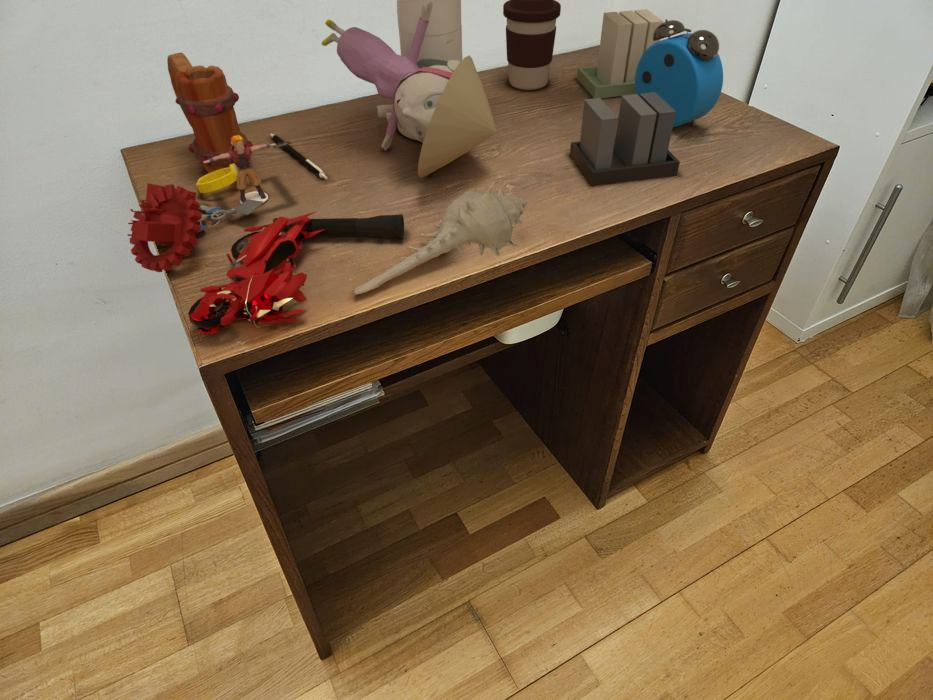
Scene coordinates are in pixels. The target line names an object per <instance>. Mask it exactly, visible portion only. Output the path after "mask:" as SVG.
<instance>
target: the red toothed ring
mask: <svg viewBox="0 0 933 700" xmlns="http://www.w3.org/2000/svg"><path fill="white" fill-rule="evenodd" d="M145 195H146V197H145V199H141V200H138V203H141V204H138V207H140V208H141V209H139V210H134V209H133V208H130V209H129V210H130V212H131V213H133V218H134V219H136V220H133V219H131V220H130V222H127V225H131V227H130V232H131V233H128V234H127V237H129V244H131V245H133V246H132V248H131V249H130V253H131V254H132V255H133V256H136V257H135V258H134V261H135V263H137V264H139V265H141V267H142V268H144V269H146V270H149V271H151V272H157V273H163V270H164V271H167V272H169V271H172V270H173V266H174V265H175V266H180V265H181V264H182V263H183V259H182V257H183V256H185V257H189V256H190V255H191V253H192V250H195V246H196V244H197V242H198V239H197V238H196V234H197V233H200V232H201V231H200V230H201V226H199V225H200V224H198V223H199V222H200V221H199V220H201V219H202V214H203V213H202V212H200V211H198V210H200V209H199V208H200V206H201V205H200V202H199V201H197V200H196V198H197V192H195V191H190V190H187V189H186V188H184V187H182V186H180V185H177V186H176V188H175V184H165V185H159V184H154V183H149V182H147V183H146V194H145ZM198 221H199V222H198ZM149 242H150V243H151V242H156V243H157V244H158V245H161V246H162V245H164V246H167V247H169V248H168V249H167V250H166V251H164V252H163V253H160V254H156V255H155V254H154V253H152V251H151V249H150V245H149Z"/></svg>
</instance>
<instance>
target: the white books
mask: <svg viewBox="0 0 933 700" xmlns="http://www.w3.org/2000/svg"><path fill="white" fill-rule="evenodd" d="M618 13H619V14H620V15H621V16H623V17H624V18H625V19H626V20H628V21H629V22H630V23H631V24H632V26H631V33H630V40H629V46H628V53H627V60H626V67H625V74H624V80H623V83H629V82H635V75H636V69H637V66H638V63H639V61H640V58H641V57H642V55H643V53H644V52H645V51H646V50H647V49H648V48H649V47H650V46H651V45H652V44H654V43H656V42H658V41H661V39H660V40H656V41H653V37H652V36H653V33H654V31H655V29H656V28H657V27H658V26H659V25H660V24H662V23H664V20H663V19H661V18H660V17H658V16H657V15H656V14H654V13H653V12H652V11H650V10H648V9H647V8H645V9H635V10H623V11H622V10H621V11H618Z"/></svg>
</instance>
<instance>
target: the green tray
mask: <svg viewBox="0 0 933 700" xmlns="http://www.w3.org/2000/svg"><path fill="white" fill-rule="evenodd" d="M597 66H598V65H591V66H579V67H577V72H576V80H577V81H578V83H580V85H581V86H582V87H583V88H584V89H585V90H586V91H587V92H588V94H589V95H590V96H591V97H592V99H594V98H601V99H606V98H608V99H609V98H615V97H616V98H617V97H621V96H623V95H633V94H636V90H635V82H629V83H619V84H609V85H604V84H603V83H602V82H601V81H600V80H599V79H598V78H597V77H596V74H597Z"/></svg>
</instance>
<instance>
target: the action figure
mask: <svg viewBox="0 0 933 700" xmlns="http://www.w3.org/2000/svg"><path fill="white" fill-rule="evenodd" d="M243 142H244V140H243V138H242V137H241V136H239V135H236V136H233V137H232V138H231V144H232V146H231V147H230V148H231V151H229V152H228V153H224V154H221V155H219V156H215V157H213V158H211V159H209V160H207V161H204V162H203V163H209V162H210V163H211V162H214V161H217V160H219V159H227V158H228V159H230V158H231V159H233V162H234V163H237V169H238V175H237V182H236V189H237V190H239V193H240V196H239V203H240V204H242V203H243V202H244V201H246V200H248V199H249V200H256V201H262V202H264V203H265V202H266V201H267V200H268V199H269V195H268V194H267V192H264V189H262V187H261V185H260V184H261V183H262V180H261V179H260V176H259V174H258V173H257V172H256V171H255V170H254V169H253V166H252V163H251V162H250V160H251V159H252V157H251V155H252V154H253V153H254V152H256V151H259V150H261V149H268V148H271V147H273V148H280V147H282V146H286V145H292V144H293V142H291V141H289V140H287V141H285V142H283V143H282V144H281V142H279V143H277V142H276V143H275V142H274V143H263V144H256V145H252V147H249V146H248V147H247V145H246V144H245V143H243ZM203 163H202V164H203ZM247 178H248V179H249V181H250V185H251V186H252V187H254V188H255V189H256V191H251V192H247V193H246V189H248V185H247Z"/></svg>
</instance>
